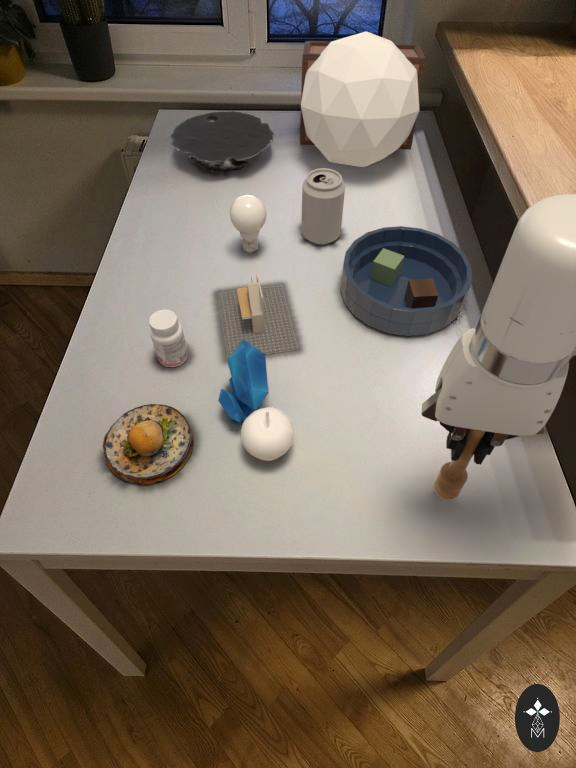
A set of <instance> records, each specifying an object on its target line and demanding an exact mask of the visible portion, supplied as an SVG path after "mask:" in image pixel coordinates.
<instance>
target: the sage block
mask: <svg viewBox="0 0 576 768" xmlns="http://www.w3.org/2000/svg"><path fill="white" fill-rule="evenodd" d="M403 261H404V256H403V255H401V254H398V253H395V252H392V251H390V250H387V249H384V248H383V249H382V251H381V252H380V253H379V255H378V256H377V257H376V258H375V260H374V261H373V267H372V273H371V279H372V280H374V281H377V282H380V283H382V284H385V285H387V286H390V287H392V285H393V284H394V282H395V281H396V280H397V278H398V277H399V275H400V274H401V270H402V265H403Z"/></svg>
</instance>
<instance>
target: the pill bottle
mask: <svg viewBox="0 0 576 768" xmlns="http://www.w3.org/2000/svg"><path fill="white" fill-rule="evenodd" d="M148 323H149V336H150V339H151V341H152V345H153V348H154V351H155V354H156V357H157V360H158V362H159V363H160V364H161V365H162V366H164V367H168V368H175V367H179V366H182V365H183V364H184V363H186V361H187V359H188V357H189V350H188V346H187V342H186V338H185V333H184V329H183V326H182V324H181V322H179V320H178V315H177V314H176V313H175V312H174V311H173V310H170V309H159V310H156V311H155V312H153V313H152V314H151V315H150V316H149V319H148Z"/></svg>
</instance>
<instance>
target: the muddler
mask: <svg viewBox="0 0 576 768" xmlns="http://www.w3.org/2000/svg"><path fill="white" fill-rule="evenodd" d="M485 432H486V431H481V430H474V429H467V431H466V446H465V448H464V450H463V452H462V454H461V456H460V458H459V460H456V461H454V460H450V461H447V462H445V463H444V464H442V466H441V468H440V470H439V472H438V474H437V476H436V479H435V480H434V483H433V489H434V491H435V493H436V494H437V496H438V497H440V499H444V500H448V501H449V500H450V501H451V500H454V499H457V498H458V496H459V495H460V493H461V491H462V490H463V488H464V486H465V484H466V482H467V481H468V479H469V478H468V477H469V474H468V471H467V468H468V466H469V464H470V462H471V460H472V458H473V457H474V453H475V451H476V449H477V447H478V445H479V443H480V442H481V440H482V438H483V436H484V434H485Z"/></svg>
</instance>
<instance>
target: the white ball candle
mask: <svg viewBox="0 0 576 768" xmlns="http://www.w3.org/2000/svg"><path fill="white" fill-rule="evenodd" d="M294 431H295V430H294V426H293V422H292V421H291V418H290V417H289V416H288V415H287V414H286V413H284V412H283V411H282V410H280V409H279V408H276V407H272V406H271V407H270V406H268V407H262V408H257V410H256V411H254V412H253V413H252V414H250V415H249V416H248V417H247V418H246V419H245V421H244V422H243V423H242V425H241V430H240V439H241V443H242V445H243V447H244V449H245V450H246V451H247V453H249V454H250V455H251V456H252V457H254V458H257V459H258V460H261V461H265V462H271V461H275V460H277V459H279V458H281V457H282V456H283V455H285V454H286V453H287V452H288V451H289V450H290V449H291V446H292V445H293V441H294V439H295V437H294V436H295V432H294Z"/></svg>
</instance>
